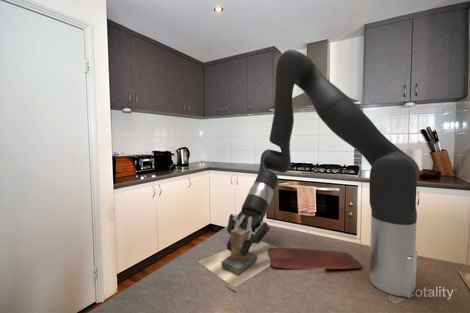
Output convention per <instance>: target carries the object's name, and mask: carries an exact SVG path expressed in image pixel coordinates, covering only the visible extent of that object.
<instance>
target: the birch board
mask: <svg viewBox="0 0 470 313" xmlns="http://www.w3.org/2000/svg"><path fill="white" fill-rule="evenodd" d="M269 248H278V247H277V246H275V245H272V244H269V243H267V242H264V241H262V240H261V241H260V242H259V243H258V244H256V243H253V244H251V246H250V249H249V251H248V252H250V253H253V254H256V255H257V260H256V261H255V262H254V263H252V264H251V265H250V266H249V267H247V268H246V269H245V270H244V271H242V272H241V273H240V274H237V273H235V272H232V271H230V270H228V269H225V268H223V267H221V262H222V261H223V260H225V259H226V258H228V257H229V256H231V251H229V250H228V249H227V248H226V249H224V250H222V251H219V252H217V253H215V254H213V255H211V256H207V257H206V258H204V259H201V260H199V261H198V263H199V264H200V265H201V266H203V267H204V268H206V269H208V271H210V272H212V273H213V274H214V275H216V276H217V277H219V278H220V279H222V280H223V281H225V282H227V283H228V284H229V285H230V286H232V287H233V288H236V287H237V286H239V285H241V284H242V283H244V282H246V281H248V280H250V278H252V277H255V276H256V275H257V274H259V273H261V272H262V271H264V270H266V269H267V268H269V267H270V266H271V267H272V265H271V262H270V259H271V258H270V256H269V253H268V249H269ZM224 287H226V288H227V289H228V290H229V291H230V292H232V293H233V294H235V293H237V291H236V290H234V289H233V288H230V287H229V286H226V285H224Z"/></svg>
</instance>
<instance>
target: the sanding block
mask: <svg viewBox="0 0 470 313" xmlns="http://www.w3.org/2000/svg"><path fill="white" fill-rule="evenodd" d="M240 228H241V227H240ZM240 228H235V229H233V230H231V235H230V236H231V256H229V257H228V258H226V259H225V260H223V261H222V262H221V267H223V268H225V269H228V270H230V271H232V272H235V273H237V274H240V273H241V272H242V271H244V270H245V269H246V268H247V267H249V266H250V265H251V264H252V263H254V262H255V261H256V260H257V255H256V254H253V253H250V252H248V253H247V255H245V256H242V255H241V254H240V250H241V248H242V246H243V243H244V241H245V240H246V236H247V233H248V231H247V230H243V229H240Z"/></svg>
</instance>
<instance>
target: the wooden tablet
mask: <svg viewBox="0 0 470 313" xmlns="http://www.w3.org/2000/svg"><path fill="white" fill-rule="evenodd" d="M268 253H269V256H270V258H271V259H270V262H271V267H272V268H278V269H289V270H290V269H294V270H295V269H296V270H315V269H324V270H338V269H339V270H342V269H343V270H346V269H360V268H363V265H362V264H361V263H360V261H358V259H356V258H355V257H354V256H353V255H351V254H350V253H349V252H344V251H339V250H338V251H337V250H328V249H327V250H323V249H315V248H314V249H313V248H302V247H301V248H300V247H299V248H298V247H277V248H269V249H268Z"/></svg>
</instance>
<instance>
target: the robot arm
mask: <svg viewBox="0 0 470 313" xmlns="http://www.w3.org/2000/svg"><path fill="white" fill-rule="evenodd" d="M295 85H296V86H297V87H298V88H299V89H301V90H302V91H303V92H304V93H305V94H306V95H307V96H308V98H309V99H310V101H311V103H312V106H313V108H314V110H315V112H316V114H317V115H318V117H319V118H320V119H321V121H322V122H323V123H324V124H325V126H327V127H328V128H329V130H330V131H331V132H333V133H334V135H336V136H337V137H338V138H340V139H341V140H343V141H344V142H345V143H347V145H349V146H351V147H353V148H354V149H355V150H356V151H357V152H358V153H360V154H361V155H362V157H363V158H364V159H365V160H366V161H367V163H368V164H369V165H370V169H369V184H368V185H369V188H368V189H369V190H368V191H369V206H370V209H371V210H370V211H371V214H370V215H371V217H370V250H369V252H370V253H369V254H370V255H369V281H370V282H371V284H372V286H374V287H375V288H377V289H378V290H380V291H382V292H383V293H387V294H390V295H393V296H399V297H405V298H407V299H412V297H413V294H414V292H415V290H416V285H417V284H416V283H417V282H416V281H417V261H418V251H417V250H416V243H417V242H416V241H417V239H416V238H417V221H418V220H417V216H418V212H417V186H418V183H417V182H418V181H419V178H420V177H421V176H420V174H421V173H420V172H421V170H420V166H419V165H418V163H417V161H415V159H414V158H412V157H411V156H410V155H408V154H407V153H406V152H405V151H403V150H401V149H400V148H399V147H398V146H397V145H395V144H394V143H393V142H392V141H391V140H390V139H388V138H387V137H386V136H385V135H384V134H382V132H381V131H380V130H379V129H378V128H377V126H376V125H375V123H373V121H372V120H371V119H370V118H369V117H368V116H367V114H365V112H364V111H363V110H362V109H361V108H360V107H359V106H358V105H357V104H356V103H355V102H354V101H353V100H352V99H351V98H350V97H349V96H348V95H347V94H345V93H344V92H343V91H342V90H341V89H340V88H338V87H337V86H336V85H335V84H334V83H333V82H331V81H329V79H328V78H326V76H324V75H323V73H322V72H321V71H320V70H319V68H318V67H317V66H316V65H315V63H314V62H313V60H312V59H311V58H310V57H309V56H307V54H304V53H302V52H301V51H298V50H296V49H287V50H285V51H284V52H282V53H281V55H280V56H279V58H278V61H277V63H276V69H275V92H274V96H275V97H274V111H273V118H272V124H271V129H270V134H269V142H270V143H271V144H273V145H275V146H278V148H279V149H280V151H278V150H274V149H265V150H264V151H263V152H262V154H261V155H260V161H259V163H260V164H259V170H258V173H257V175H256V178H255V181H254V183H253V184H252V186H251V187H250V188H249V190H248V193H247V195H246V198H245V200H244V201H243V204H242V206H241V211H240V212H239V213H238V214H237V215H235V214H233V213H231V214H229V217H228V222H227V228H226V231H227V233H228V234H229V235H230V237H229V239H228V240H227V243H226V249H228V250H229V251H231V230H233V229H235V228H240V229H243V230H247V231H248V233H247V236H246V240H245V241H244V243H243V246H242V248H241V250H240V254H241V255H242V256H245V255H247V253H248V251H249V249H250V246H251V244H253V243H256V244H258V243H259V242H260V241H262V240H263V239H264V237H265V236H266V234H267V233H268V232H269V230H270V229H271V227H270V226H269V224H268V223H267V222H266V221H265V222H264V218H265V216H266V214H267V211H268V209H269V207H270V204H271V202H272V200H273V195H274V193H275V189H276V188H277V184H278V183H279V182H278V181H279V177H278V175H277V174H276V173H274V172H277V173H281V174H285V173H287V172H288V171H289V169H290V168H291V164H292V163H291V162H292V160H291V147H290V146H291V145H290V144H291V138H292V134H293V128H294V123H295V122H294V121H295V120H294V119H295V117H294V108H293V106H294V105H293V94H294V87H295ZM273 171H274V172H273Z"/></svg>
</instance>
